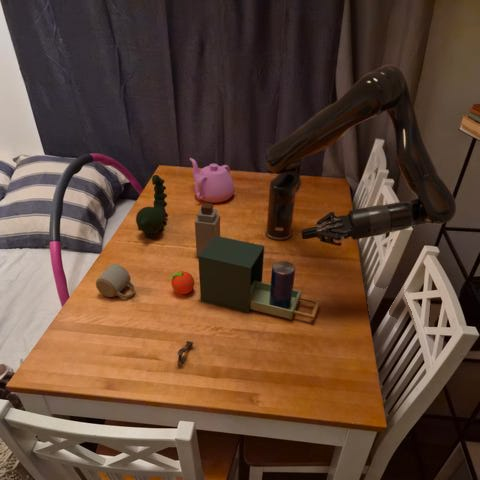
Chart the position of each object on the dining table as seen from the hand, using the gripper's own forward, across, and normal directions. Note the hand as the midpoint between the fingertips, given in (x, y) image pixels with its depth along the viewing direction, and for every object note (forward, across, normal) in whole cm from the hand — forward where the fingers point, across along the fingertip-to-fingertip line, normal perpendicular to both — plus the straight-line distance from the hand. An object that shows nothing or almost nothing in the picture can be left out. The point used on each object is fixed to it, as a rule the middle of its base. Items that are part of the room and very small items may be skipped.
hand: (301, 234), depth 106 cm
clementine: (+39, -3, +15) cm, 41 cm away
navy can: (+9, +3, +20) cm, 22 cm away
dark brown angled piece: (+34, +24, +14) cm, 44 cm away
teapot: (+35, -71, +19) cm, 82 cm away
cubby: (+24, -2, +18) cm, 30 cm away
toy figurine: (+53, -41, +13) cm, 68 cm away
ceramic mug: (+57, -2, +10) cm, 58 cm away
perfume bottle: (+32, -25, +18) cm, 44 cm away
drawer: (+9, +4, +21) cm, 23 cm away
